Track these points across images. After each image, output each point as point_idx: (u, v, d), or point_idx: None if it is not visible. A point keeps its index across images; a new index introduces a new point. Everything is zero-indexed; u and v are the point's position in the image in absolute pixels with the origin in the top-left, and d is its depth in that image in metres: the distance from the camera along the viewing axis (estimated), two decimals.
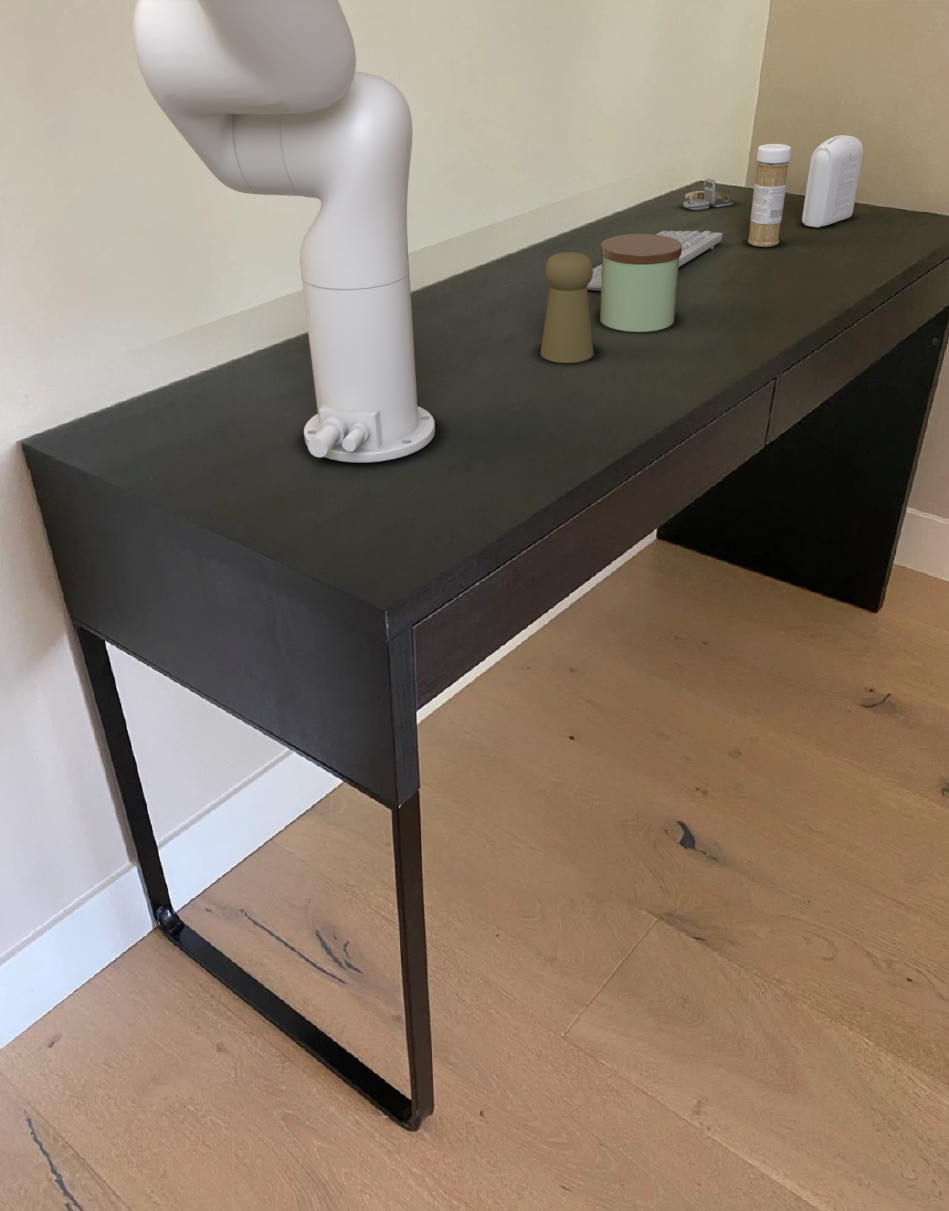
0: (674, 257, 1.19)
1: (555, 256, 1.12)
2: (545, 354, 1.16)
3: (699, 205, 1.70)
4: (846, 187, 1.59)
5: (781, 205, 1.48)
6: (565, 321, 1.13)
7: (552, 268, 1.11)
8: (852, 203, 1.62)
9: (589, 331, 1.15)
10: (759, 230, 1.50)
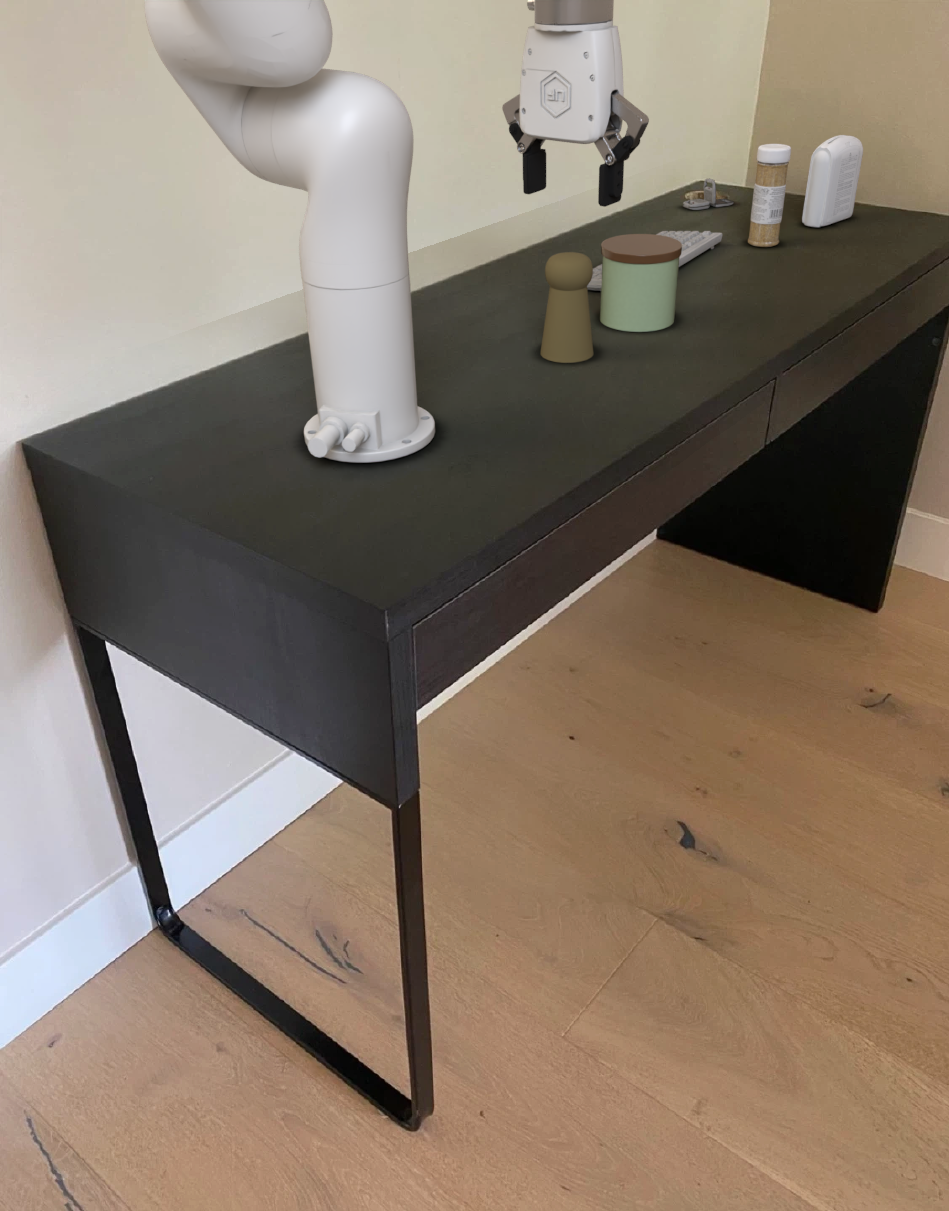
0: (674, 257, 1.19)
1: (555, 256, 1.12)
2: (545, 354, 1.16)
3: (699, 205, 1.70)
4: (846, 187, 1.59)
5: (781, 205, 1.48)
6: (565, 321, 1.13)
7: (552, 268, 1.11)
8: (852, 203, 1.62)
9: (589, 331, 1.15)
10: (759, 230, 1.50)
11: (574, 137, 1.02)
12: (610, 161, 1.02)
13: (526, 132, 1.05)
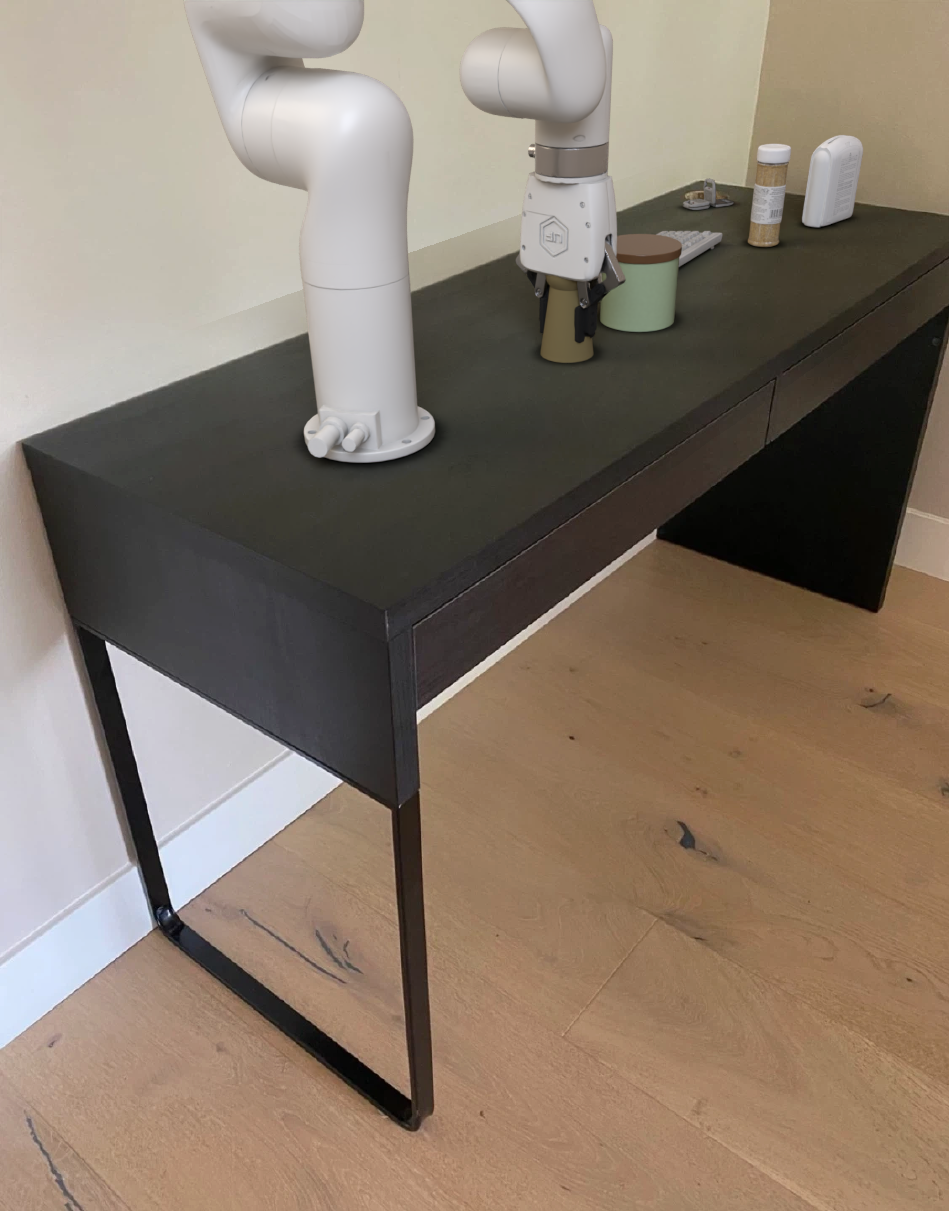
0: (674, 257, 1.19)
1: None
2: (545, 354, 1.16)
3: (699, 205, 1.70)
4: (846, 187, 1.59)
5: (781, 205, 1.48)
6: (565, 321, 1.13)
7: None
8: (852, 203, 1.62)
9: None
10: (759, 230, 1.50)
11: (570, 275, 1.09)
12: (584, 304, 1.12)
13: (526, 266, 1.13)
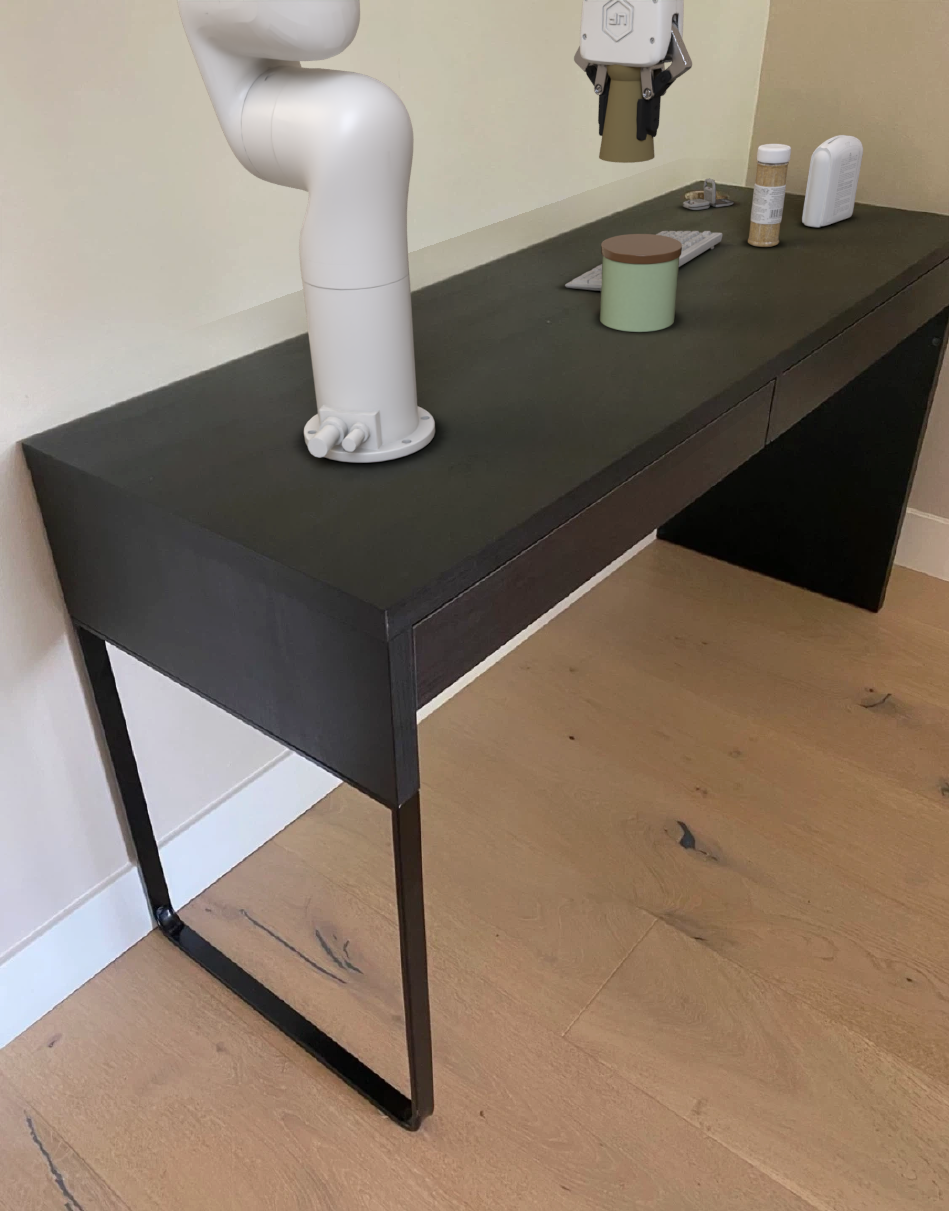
0: (674, 257, 1.19)
1: None
2: (605, 155, 1.12)
3: (699, 205, 1.70)
4: (846, 187, 1.59)
5: (781, 205, 1.48)
6: (627, 115, 1.09)
7: None
8: (852, 203, 1.62)
9: None
10: (759, 230, 1.50)
11: (635, 60, 1.05)
12: (648, 95, 1.07)
13: (586, 58, 1.08)
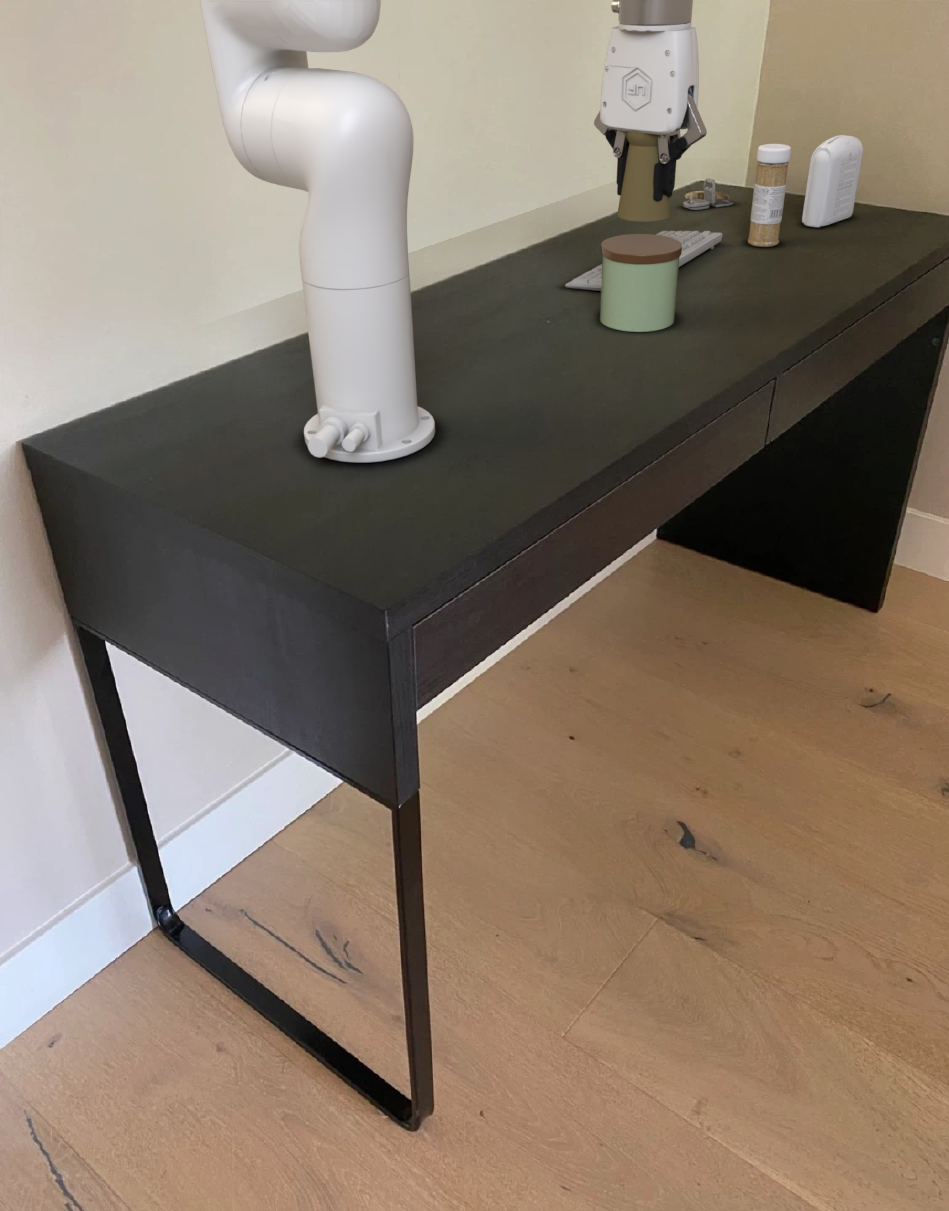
0: (674, 257, 1.19)
1: None
2: (623, 214, 1.18)
3: (699, 205, 1.70)
4: (846, 187, 1.59)
5: (781, 205, 1.48)
6: (644, 178, 1.15)
7: None
8: (852, 203, 1.62)
9: None
10: (759, 230, 1.50)
11: (652, 128, 1.11)
12: (664, 160, 1.14)
13: (606, 124, 1.15)
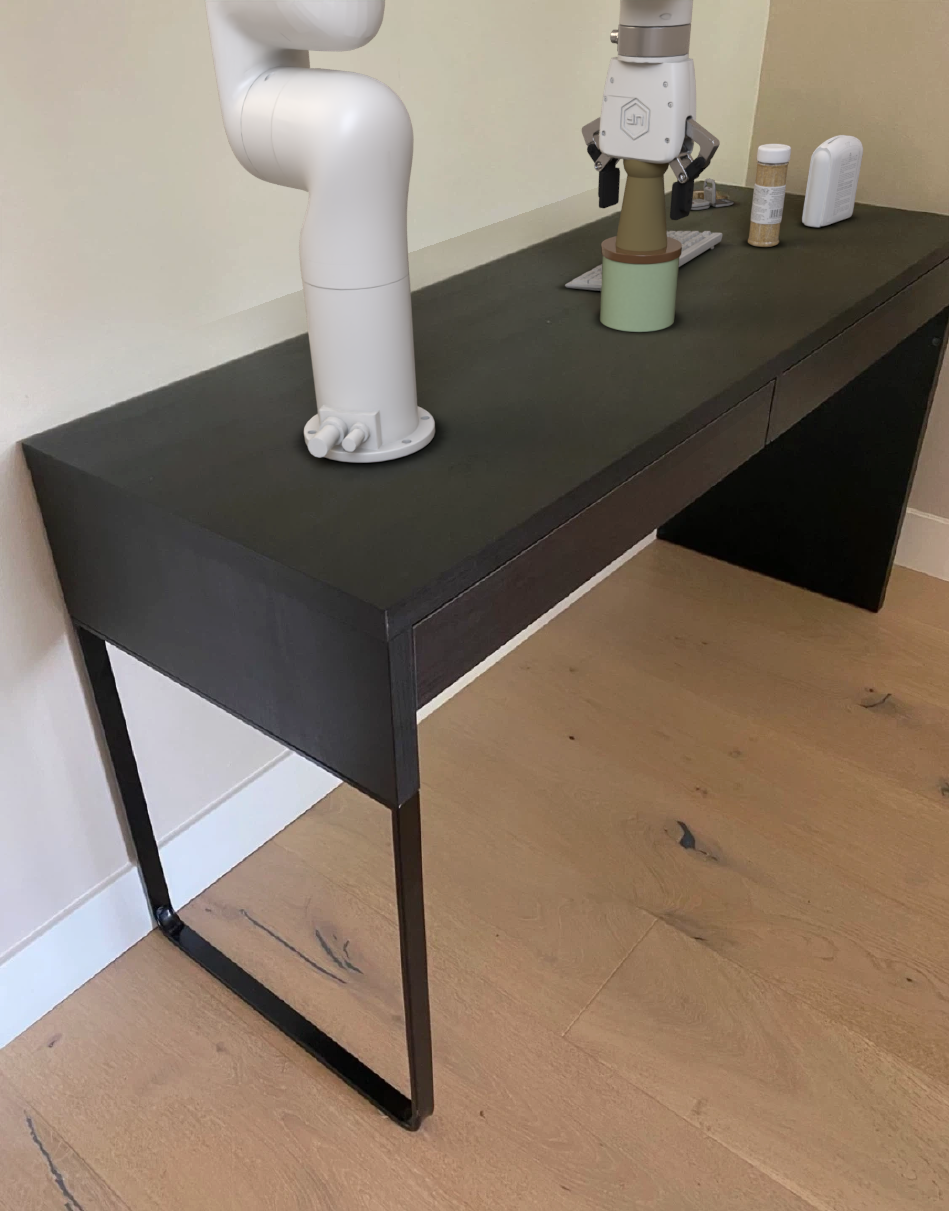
0: (674, 257, 1.19)
1: None
2: (621, 244, 1.20)
3: (699, 205, 1.70)
4: (846, 187, 1.59)
5: (781, 205, 1.48)
6: (642, 209, 1.17)
7: None
8: (852, 203, 1.62)
9: (664, 220, 1.19)
10: (759, 230, 1.50)
11: (650, 157, 1.13)
12: (682, 179, 1.13)
13: (605, 152, 1.16)
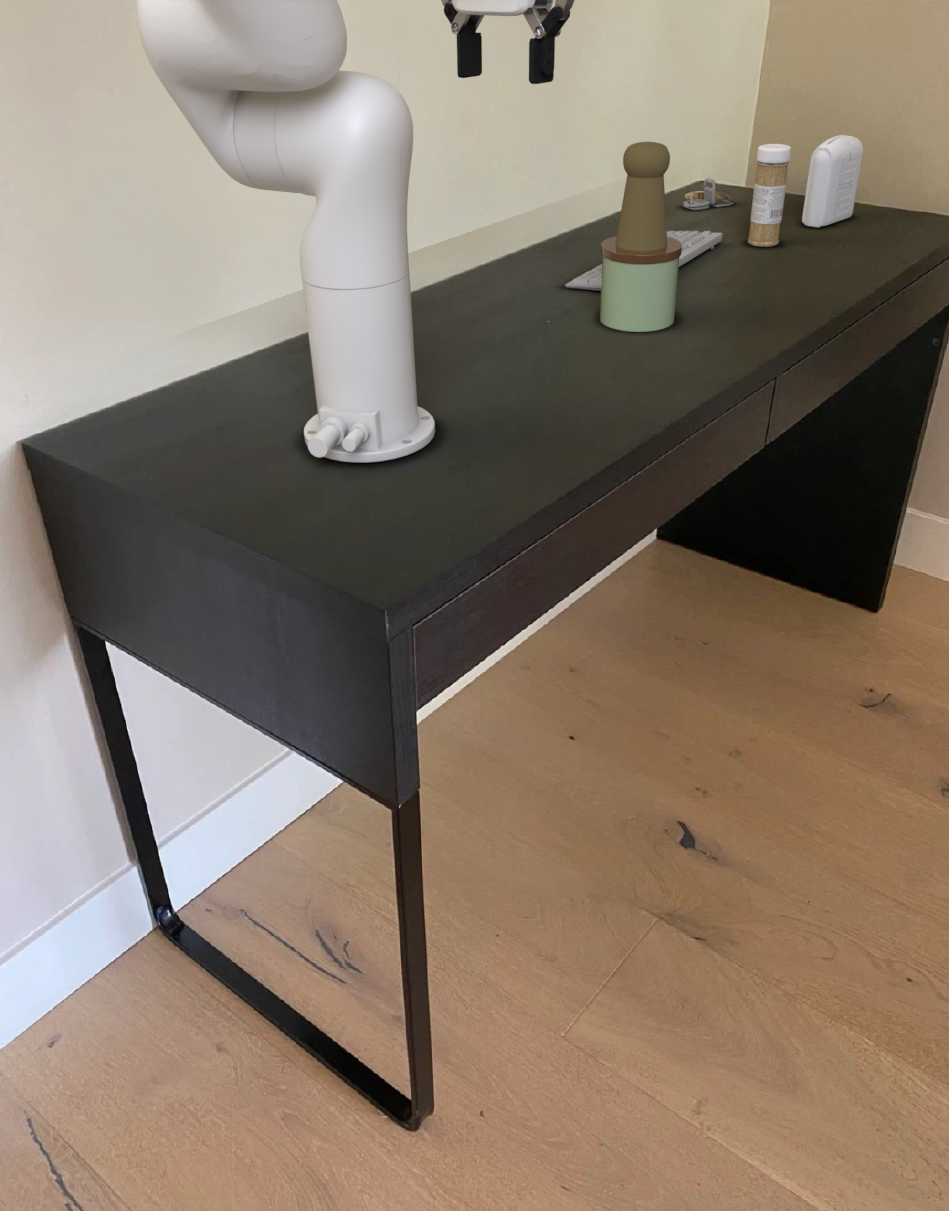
0: (674, 257, 1.19)
1: (634, 144, 1.16)
2: (621, 244, 1.20)
3: (699, 205, 1.70)
4: (846, 187, 1.59)
5: (781, 205, 1.48)
6: (642, 209, 1.17)
7: (631, 155, 1.15)
8: (852, 203, 1.62)
9: (664, 220, 1.19)
10: (759, 230, 1.50)
11: (503, 9, 1.00)
12: (540, 34, 1.01)
13: (458, 8, 1.04)
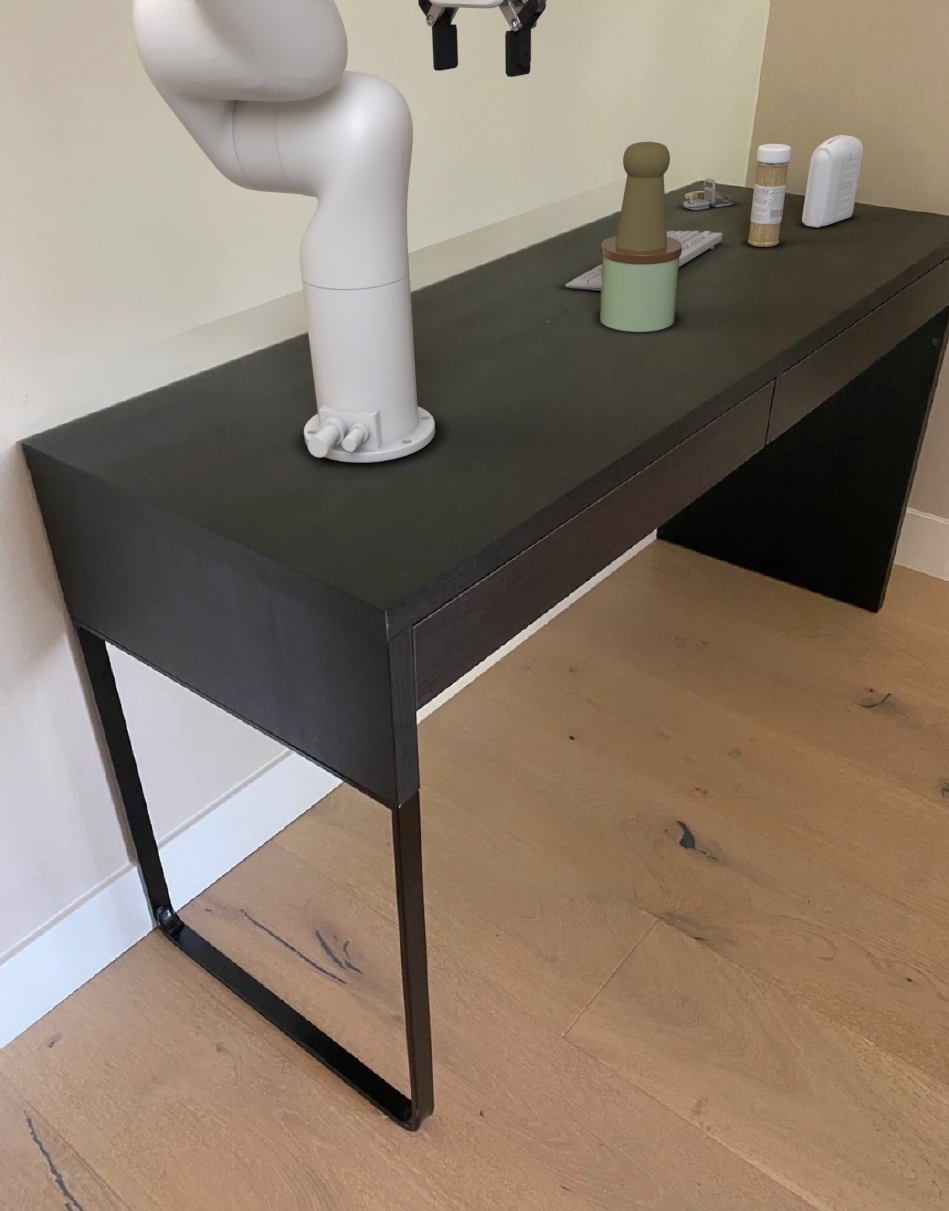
0: (674, 257, 1.19)
1: (634, 144, 1.16)
2: (621, 244, 1.20)
3: (699, 205, 1.70)
4: (846, 187, 1.59)
5: (781, 205, 1.48)
6: (642, 209, 1.17)
7: (631, 155, 1.15)
8: (852, 203, 1.62)
9: (664, 220, 1.19)
10: (759, 230, 1.50)
11: (479, 1, 0.99)
12: (516, 27, 1.00)
13: (433, 0, 1.03)
